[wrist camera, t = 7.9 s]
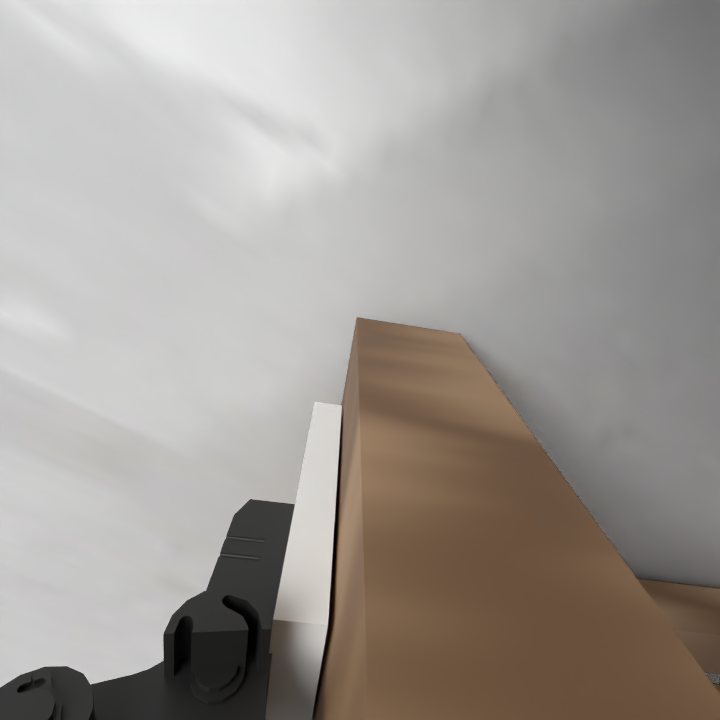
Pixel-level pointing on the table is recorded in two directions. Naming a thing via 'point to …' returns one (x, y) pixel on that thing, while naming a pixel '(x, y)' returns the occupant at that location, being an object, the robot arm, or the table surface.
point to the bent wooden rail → (485, 564)
